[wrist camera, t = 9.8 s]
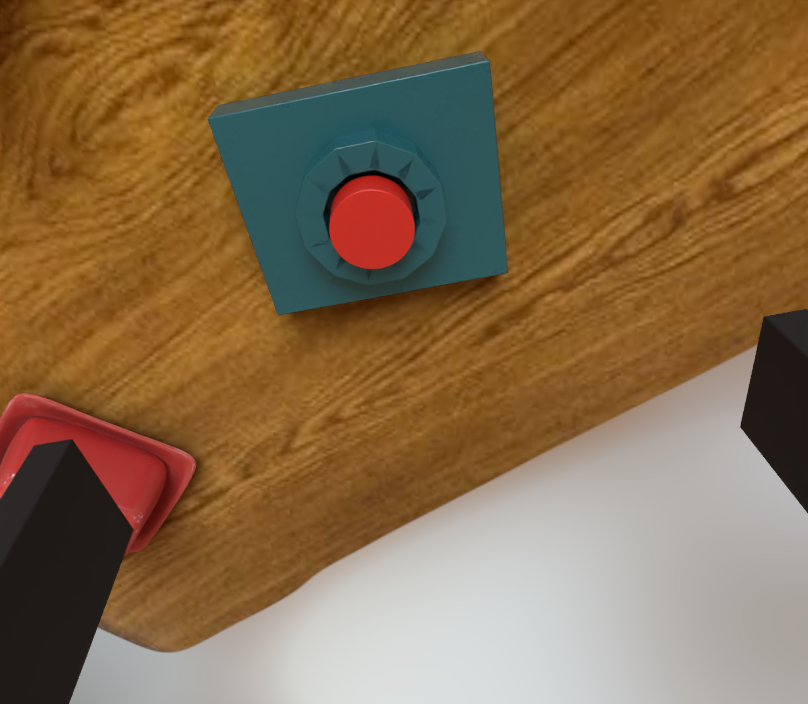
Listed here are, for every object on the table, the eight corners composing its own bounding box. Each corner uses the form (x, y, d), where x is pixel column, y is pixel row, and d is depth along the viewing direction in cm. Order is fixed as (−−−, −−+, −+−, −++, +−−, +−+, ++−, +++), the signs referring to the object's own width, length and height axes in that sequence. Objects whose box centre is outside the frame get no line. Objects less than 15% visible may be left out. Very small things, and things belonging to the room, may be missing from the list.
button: (404, 167, 25) (406, 181, 24) (418, 243, 27) (421, 261, 26) (321, 183, 26) (319, 199, 24) (341, 258, 28) (340, 276, 26)
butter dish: (210, 446, 39) (176, 559, 32) (144, 543, 44) (103, 658, 37) (23, 371, 35) (-62, 483, 28) (-25, 488, 40) (-106, 606, 33)
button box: (481, 50, 26) (498, 68, 23) (500, 254, 32) (515, 291, 29) (217, 105, 27) (197, 129, 24) (282, 294, 33) (273, 335, 29)
